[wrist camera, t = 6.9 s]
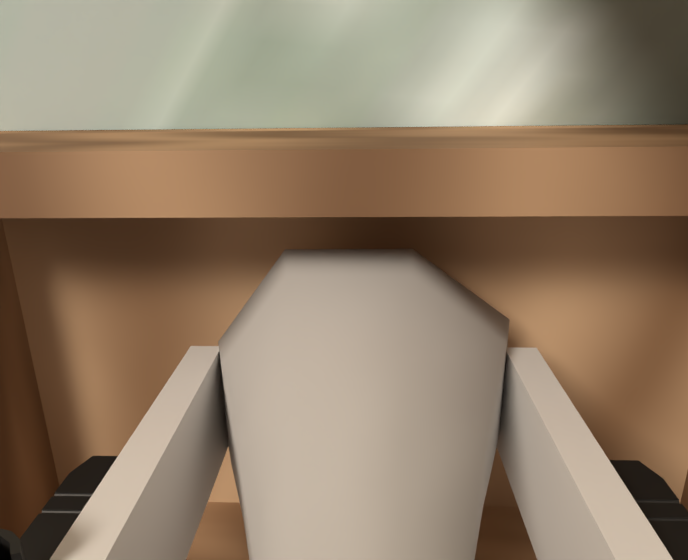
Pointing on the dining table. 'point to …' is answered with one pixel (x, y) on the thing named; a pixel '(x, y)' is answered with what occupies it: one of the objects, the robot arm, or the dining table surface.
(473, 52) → the dining table surface
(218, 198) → the wooden tray
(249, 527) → the flask
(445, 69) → the dining table surface
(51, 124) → the dining table surface
